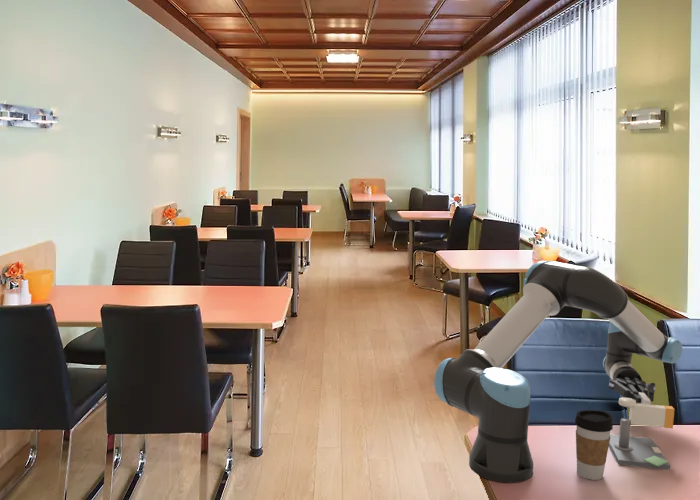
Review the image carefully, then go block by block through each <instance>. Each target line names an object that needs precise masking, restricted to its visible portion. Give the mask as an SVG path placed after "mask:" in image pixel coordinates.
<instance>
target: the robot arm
mask: <svg viewBox="0 0 700 500" xmlns="http://www.w3.org/2000/svg"><path fill="white" fill-rule="evenodd" d="M524 276H525V278H523V289H522V294H523V295H522V296H521V297H520V299H519V300H518V301H517V302H516V303H515V304H514V305H513V306H512V307H511V308H510V310H508V311H507V313H506V314H505V315H504V316H503V317H502V318H501V319H500V320H499V321H498V323H497V324H495V326H493V328H492V329H491V330H490V331H489V332H488V333H487V334H486V335H485V336H484V338H483V339H482V340H481V341H480V342H479V343H478V344H477V346H476V347H475V348H474V349H469V348H467V349H465V350H464V351H463V352H462V353H461V354H460V355H459V356H458V357H457V358H455V357H448V358H445V359H443V360H442V361H441V362H440V363H439V364H438V365H437V366H438V367H437V368H436V370H435V373H434V382H433V386H434V390H435V394H436V396H437V397H438V399H439V400H441V401H442V402H444V403H446V404H447V405H448V406H449V407H454V408H455V409H458V410H460V411H463V412H465V413H467V414H469V415H471V416H473V417H476V418H477V419H478V425H477V435H476V437H475V440H474V443H473V445H472V448H471V450H470V453H469V456H468V466H469V468H470V469H471V471H473V473H474V474H476V475H478V476H480V477H482V478H484V479H487V480H490V481H493V482H497V483H498V482H499V483H509V484H510V483H520V482H525V481H527V480H528V479H530V478H532V476H533V474H534V461H533V457H532V453H531V449H530V446H529V443H528V432H529V420H530V408H531V407H530V406H531V400H532V399H531V386H530V382H529V381H528V378H526V377H525V376H524V375H522V374H521V373H519V372H516V371H514V370H512V369H508V368H504V366H506V365H507V363H508V362H509V361H510V359H512V357H513V356H514V355H515V354H516V353H517V352H518V350H519V349H521V347H523V345H524V344H525V343H526V341H527V340H528V339H529V338H531V336H532V335H533V334H534V332H535V331H536V330H537V329H538V328H539V327H540V325H542V323H543V322H544V321H545V319H547V318H548V316H551V317H552V316H556V315H558V314H559V313H560V311H561V310H562V309H563V308H564V307H570V308H575V309H581V310H585V311H589V312H591V313H594V314H596V315H597V316H598V317H599V318H602V319H604V320H605V319H606V320H608V321H609V325H608V331H607V345H606V355H605V357H604V358H603V360H602V367H603V369H604V371H605V373H606V375H607V376H609V378H610V379H609V384H608V388H609V389H610V390H612V391H615V393H617V394H619V395H620V396H621V397H626V398H631V399H634V400H635V401H636V403H637V404H649V405H652V403H653V402H654V399H655V398H654V397H655V392H656V383H654V382H650V383H647V382H646V381H645V380H643V379H642V376H641V374H640V373H639V372H638V371H637V370H636V369H635V368H634V367H633V365H632V362H633V361H632V360H633V354H634V355H638V356H642V357H645V358H649V359H652V360H656V361H659V362H662V363H667V364H668V363H669V364H676V363H677V362H678V361H679V360H680V359H681V356H682V353H683V344H682V342H681V340H679V339H677V338H675V337H671V336H670V337H669V336H666V335H665V334H664V333H663V332H661V331H660V329H658V328H657V327H656V326H655V325H654V324H653V322H652V321H651V320H649V319H648V318H647V317H646V316H645V315H644V314H643V313H642V312H641V311H640V310H639V309H638V308H637V307H636V306H635V305H634V304H633V303H632V302H631V301H630V300H629V296H628V293H626V291H625V290H624V289H623V288H622V287H621V286H620V285H619V284H617V282H615V281H614V280H612V279H611V278H609V276H608V275H605V274H604V273H602V272H601V271H599V270H596V269H595V268H592V267H588V266H584V265H578V264H577V265H576V264H572V263H564V262H559V261H556V260H539V261H537V262H535V263H534V264H532V265H531V266H530V267H529V268H528V270H527V271H526V273H525V275H524ZM651 402H652V403H651Z"/></svg>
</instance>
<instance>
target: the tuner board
mask: <svg viewBox="0 0 700 500" xmlns="http://www.w3.org/2000/svg"><path fill="white" fill-rule="evenodd" d="M619 435H620V434H611V433H610V442H609V447H608V449H610V451H611V453H612V455H613V457H614V459H615V461H616V463H617V464H618V465H620V466H627V467H628V466H629V467H640V468H648V469H649V468H650V469H657V470H658V469H659V470H667V471H669V470H670V471H671V464H670V462H669V461H668V460H667V457H665V455H664V453H663V452H662V450H660V448H659V447H658V445H657V444H656V443H655V440H653V438H652V437H642V436H641V437H640V436H632V435H630V438H629V447H628V448H622V447H620V446H619Z"/></svg>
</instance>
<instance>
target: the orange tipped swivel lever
mask: <svg viewBox="0 0 700 500" xmlns="http://www.w3.org/2000/svg"><path fill="white" fill-rule="evenodd" d="M618 404H619V406H622V407H623V408H624V407H625V408H629V415H628V416H629V417H628V418H620V422H619V423H620V424H619V425H620V426H619V434H618V435H619V446H620V447H622V448H628V447H629V438H630V436H631V435H630V434H631V425H632V426H633V425H636V426H644V427H645V426H646V427H656V428H666V429H674V418H675V408H674V407H673V406H672V405H657V404H651V405H649V404H639V403H636V401H635V400H634V399H632V398H626V397H623V396H621V397H619V399H618Z"/></svg>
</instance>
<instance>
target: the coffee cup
mask: <svg viewBox="0 0 700 500" xmlns="http://www.w3.org/2000/svg"><path fill="white" fill-rule="evenodd" d="M575 415H576V416H575V418H574V423H575V425H576V430H575V444H576V446H575V448H576V449H575V450H576V451H575V453H576V474H577V475H579V476H580V477H581V478H583V479H587V480H591V481H598V480H602V479H603V477H604V473H605V468H606V462H607V457H608V451H609V442H610V434H611V431H613V426H614V424H613V415H612V414H610V413H609V412H607V411H603V410H598V409H597V410H596V409H583V410H579V411H577V412H576V414H575Z"/></svg>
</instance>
